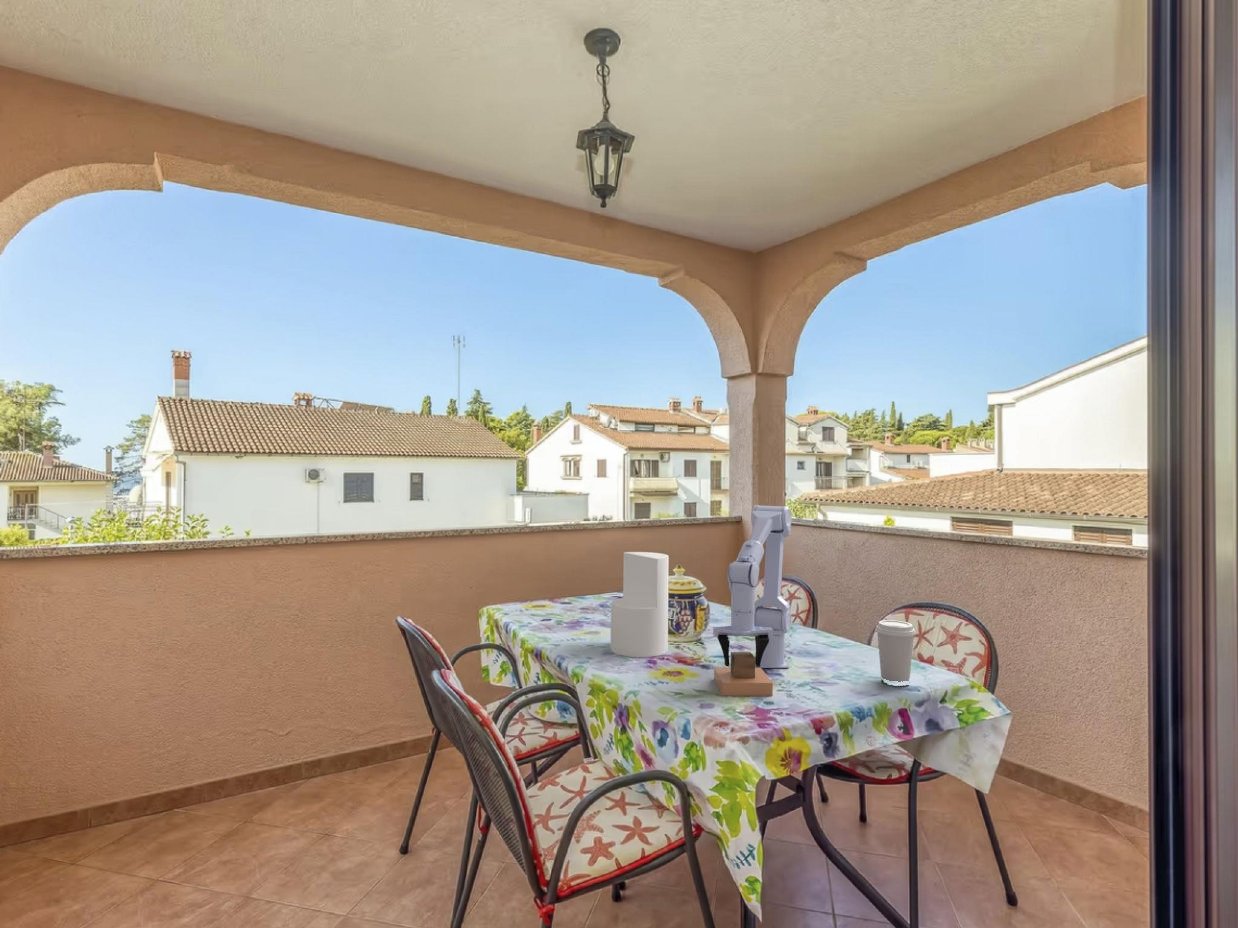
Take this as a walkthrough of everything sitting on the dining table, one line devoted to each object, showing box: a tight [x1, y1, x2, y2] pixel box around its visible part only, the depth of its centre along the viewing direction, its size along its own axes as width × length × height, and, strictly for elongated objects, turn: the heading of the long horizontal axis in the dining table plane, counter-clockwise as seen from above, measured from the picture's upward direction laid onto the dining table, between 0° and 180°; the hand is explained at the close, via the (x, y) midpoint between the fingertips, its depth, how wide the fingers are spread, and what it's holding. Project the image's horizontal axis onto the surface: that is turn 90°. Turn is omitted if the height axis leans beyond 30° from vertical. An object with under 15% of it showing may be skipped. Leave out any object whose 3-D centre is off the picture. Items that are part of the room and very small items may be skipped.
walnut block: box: [730, 651, 756, 678], centre depth 159 cm, size 5×5×5 cm
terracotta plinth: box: [713, 666, 774, 697], centre depth 159 cm, size 12×12×3 cm
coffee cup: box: [874, 619, 917, 682], centre depth 164 cm, size 10×10×15 cm
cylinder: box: [609, 551, 670, 658], centre depth 193 cm, size 17×17×28 cm
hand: (742, 665), depth 159 cm, fingers open, 7 cm apart
